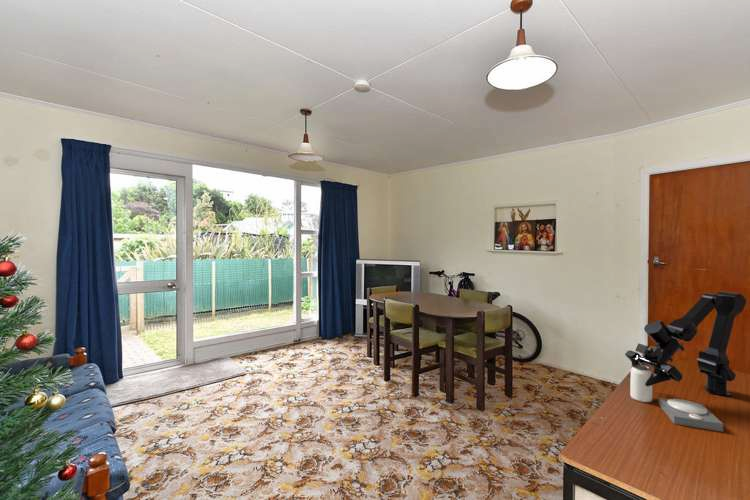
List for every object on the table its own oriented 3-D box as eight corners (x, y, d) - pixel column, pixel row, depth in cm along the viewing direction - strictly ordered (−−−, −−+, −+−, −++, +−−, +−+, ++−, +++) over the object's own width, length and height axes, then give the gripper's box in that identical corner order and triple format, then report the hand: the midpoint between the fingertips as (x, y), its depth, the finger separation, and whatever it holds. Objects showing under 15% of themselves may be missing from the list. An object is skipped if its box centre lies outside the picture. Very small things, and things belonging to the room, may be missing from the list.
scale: (658, 404, 124) (659, 395, 124) (701, 410, 119) (702, 401, 119) (674, 423, 111) (674, 413, 111) (723, 431, 106) (723, 421, 106)
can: (656, 403, 125) (656, 371, 124) (636, 402, 126) (636, 370, 126) (645, 395, 131) (646, 364, 131) (626, 394, 132) (627, 363, 132)
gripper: (629, 330, 138) (604, 358, 137) (676, 344, 119) (647, 377, 118) (646, 348, 139) (621, 377, 138) (695, 365, 121) (667, 398, 119)
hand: (637, 381), depth 128 cm, fingers closed on can, 6 cm apart
